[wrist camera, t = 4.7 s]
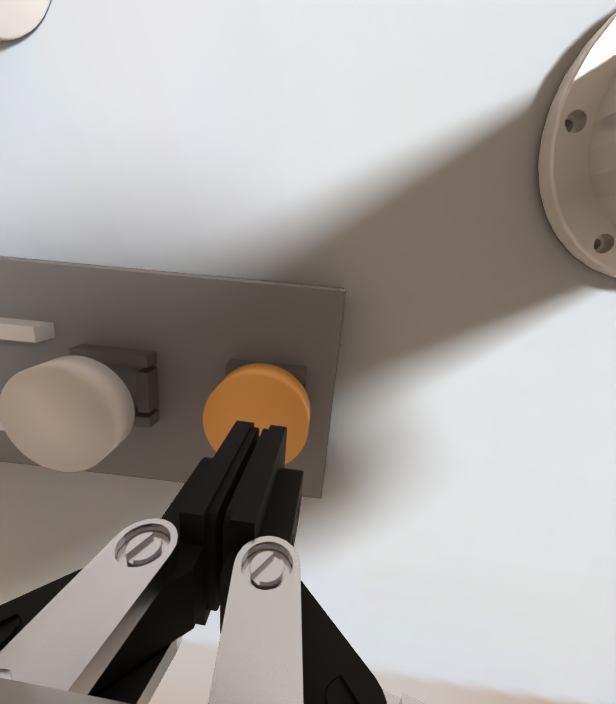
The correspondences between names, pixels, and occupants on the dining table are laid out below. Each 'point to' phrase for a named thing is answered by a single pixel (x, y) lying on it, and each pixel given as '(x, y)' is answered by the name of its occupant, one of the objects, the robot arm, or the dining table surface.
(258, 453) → the robot arm
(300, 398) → the orange button
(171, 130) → the dining table surface
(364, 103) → the dining table surface
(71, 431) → the white rounded thick disc
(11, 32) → the tall white cup
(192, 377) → the panel
